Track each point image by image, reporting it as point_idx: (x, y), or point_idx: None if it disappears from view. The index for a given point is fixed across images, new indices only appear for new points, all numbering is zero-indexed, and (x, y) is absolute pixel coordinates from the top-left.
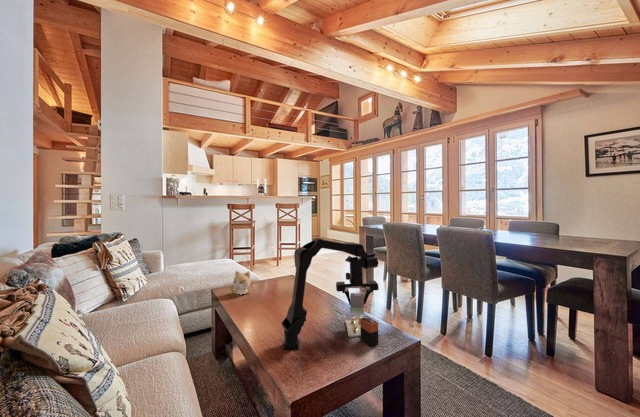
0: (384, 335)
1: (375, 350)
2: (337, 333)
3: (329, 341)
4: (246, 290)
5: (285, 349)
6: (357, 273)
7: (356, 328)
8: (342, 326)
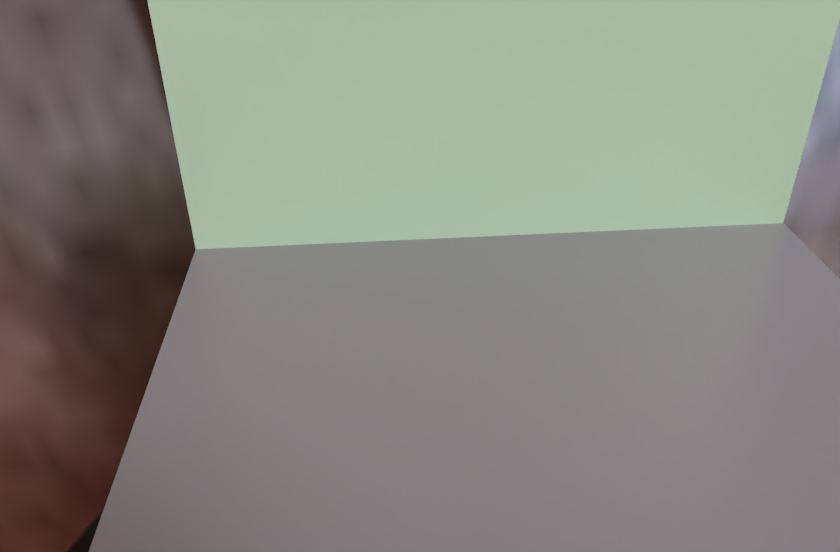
0: (834, 234)
1: None
2: (85, 292)
3: (53, 487)
4: None
5: None
6: None
7: None
8: (87, 25)
